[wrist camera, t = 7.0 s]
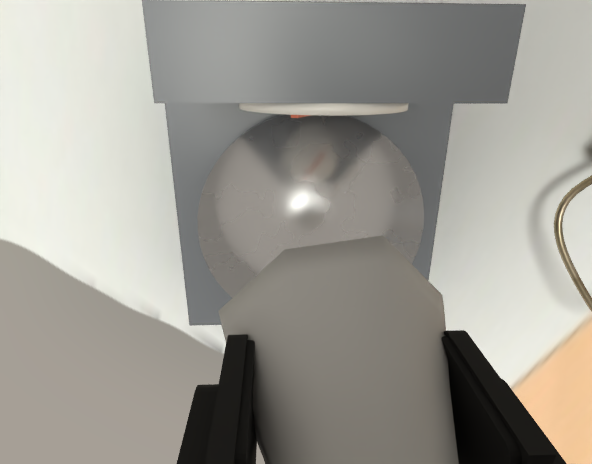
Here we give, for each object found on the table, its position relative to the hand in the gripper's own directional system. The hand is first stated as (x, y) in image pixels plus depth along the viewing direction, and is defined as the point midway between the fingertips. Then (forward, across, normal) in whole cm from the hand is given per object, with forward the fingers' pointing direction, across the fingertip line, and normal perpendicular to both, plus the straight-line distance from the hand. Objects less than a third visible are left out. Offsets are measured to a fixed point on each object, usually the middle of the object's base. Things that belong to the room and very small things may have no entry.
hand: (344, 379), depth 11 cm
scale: (+19, 0, -1) cm, 19 cm away
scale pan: (+14, 0, 0) cm, 14 cm away
